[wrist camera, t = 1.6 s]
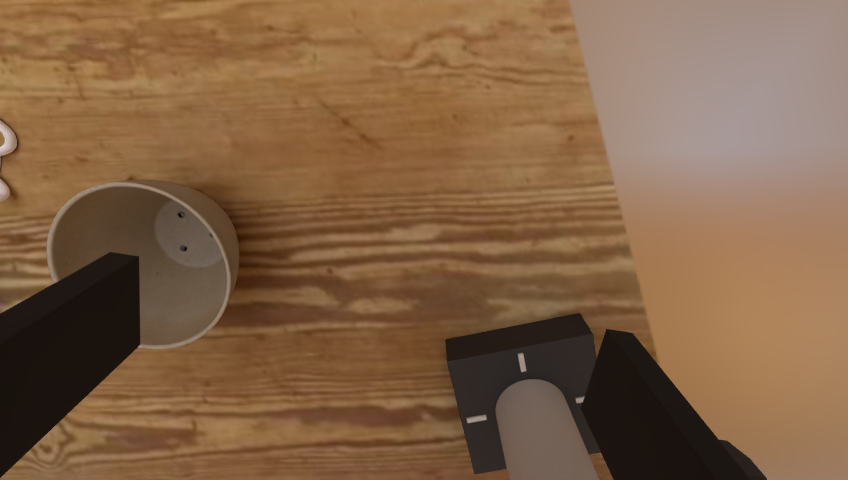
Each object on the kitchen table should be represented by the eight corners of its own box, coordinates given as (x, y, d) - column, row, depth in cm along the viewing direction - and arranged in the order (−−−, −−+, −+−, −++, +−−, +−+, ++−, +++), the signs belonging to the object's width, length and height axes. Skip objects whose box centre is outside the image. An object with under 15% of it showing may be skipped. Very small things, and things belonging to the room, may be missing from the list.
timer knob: (561, 372, 34) (612, 486, 24) (570, 430, 35) (621, 558, 26) (489, 386, 34) (513, 502, 25) (501, 442, 36) (528, 572, 26)
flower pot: (108, 265, 35) (31, 312, 28) (142, 134, 32) (65, 151, 25) (243, 317, 36) (201, 374, 29) (288, 196, 33) (253, 228, 26)
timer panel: (579, 312, 36) (594, 335, 33) (595, 423, 39) (609, 452, 36) (445, 339, 36) (447, 363, 33) (471, 445, 40) (474, 476, 37)
